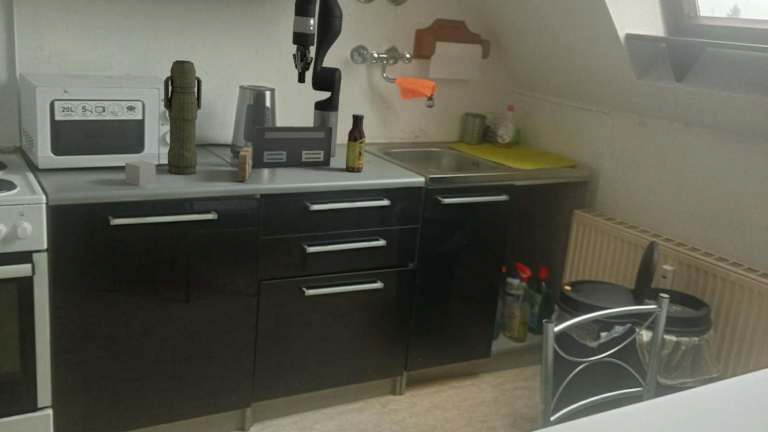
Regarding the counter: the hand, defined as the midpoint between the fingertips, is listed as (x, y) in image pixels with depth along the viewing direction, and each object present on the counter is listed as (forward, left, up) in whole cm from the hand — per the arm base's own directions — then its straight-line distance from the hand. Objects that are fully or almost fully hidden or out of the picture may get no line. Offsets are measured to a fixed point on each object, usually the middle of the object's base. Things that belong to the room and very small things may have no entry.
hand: (301, 83), depth 251 cm
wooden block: (+12, -23, -29) cm, 39 cm away
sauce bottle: (+9, +18, -29) cm, 35 cm away
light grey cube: (+16, -56, -29) cm, 65 cm away
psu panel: (+1, -2, -29) cm, 29 cm away
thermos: (+4, -41, -29) cm, 50 cm away
